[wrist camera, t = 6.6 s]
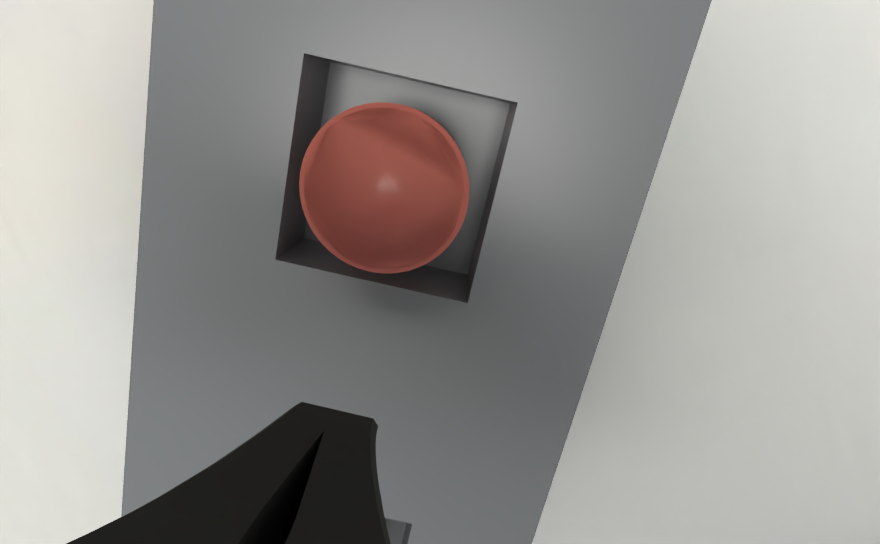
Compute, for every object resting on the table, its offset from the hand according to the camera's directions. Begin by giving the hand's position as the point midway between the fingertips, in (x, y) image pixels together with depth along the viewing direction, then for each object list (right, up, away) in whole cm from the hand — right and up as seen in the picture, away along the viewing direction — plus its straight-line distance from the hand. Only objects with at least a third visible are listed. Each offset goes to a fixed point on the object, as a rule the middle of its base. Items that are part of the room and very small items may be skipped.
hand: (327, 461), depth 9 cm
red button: (+1, +6, +6) cm, 8 cm away
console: (0, 0, +9) cm, 9 cm away
